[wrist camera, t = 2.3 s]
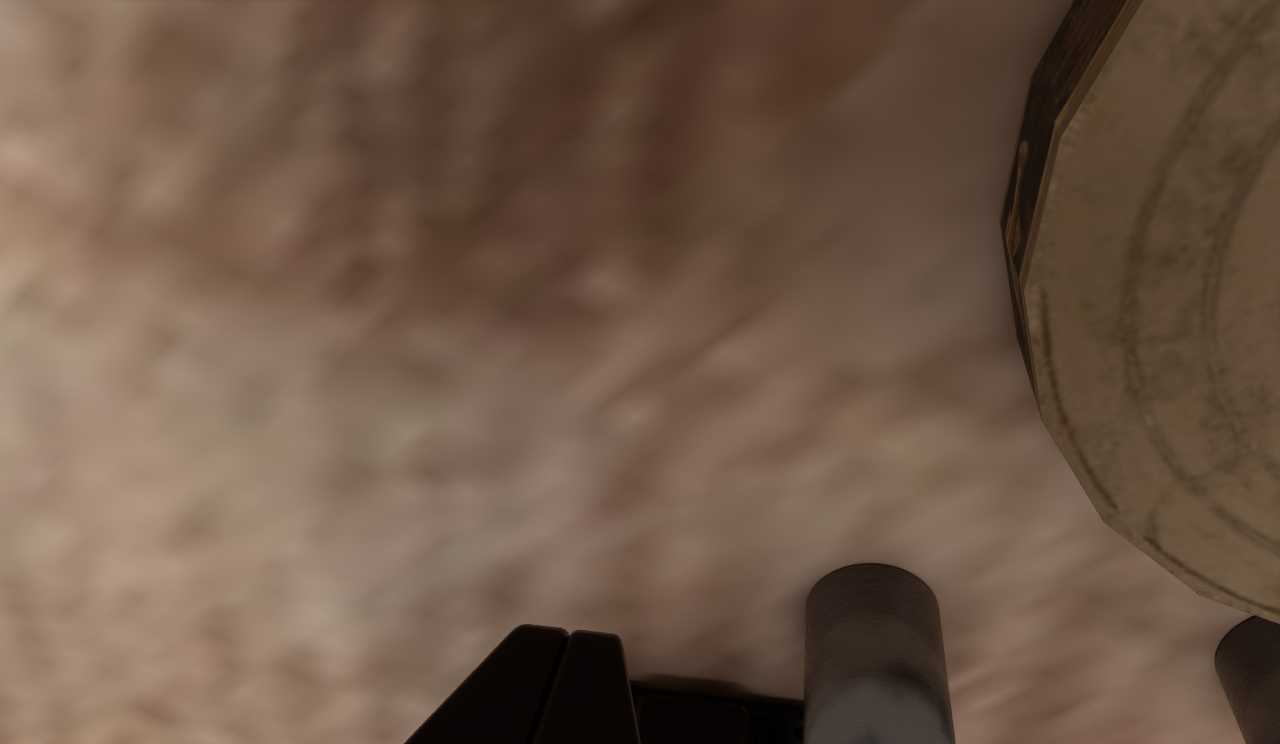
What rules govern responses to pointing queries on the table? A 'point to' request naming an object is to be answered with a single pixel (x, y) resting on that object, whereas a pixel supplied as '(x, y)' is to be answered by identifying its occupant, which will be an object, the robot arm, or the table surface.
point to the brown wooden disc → (1159, 278)
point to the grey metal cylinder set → (916, 668)
